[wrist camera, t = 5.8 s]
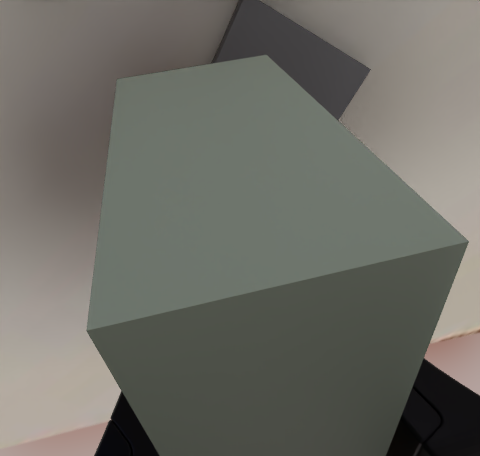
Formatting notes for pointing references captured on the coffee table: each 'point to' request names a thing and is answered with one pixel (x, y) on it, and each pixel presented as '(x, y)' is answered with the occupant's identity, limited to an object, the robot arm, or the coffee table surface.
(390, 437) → the sage rectangular block
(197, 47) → the coffee table surface
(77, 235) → the coffee table surface
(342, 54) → the dark gray panel
